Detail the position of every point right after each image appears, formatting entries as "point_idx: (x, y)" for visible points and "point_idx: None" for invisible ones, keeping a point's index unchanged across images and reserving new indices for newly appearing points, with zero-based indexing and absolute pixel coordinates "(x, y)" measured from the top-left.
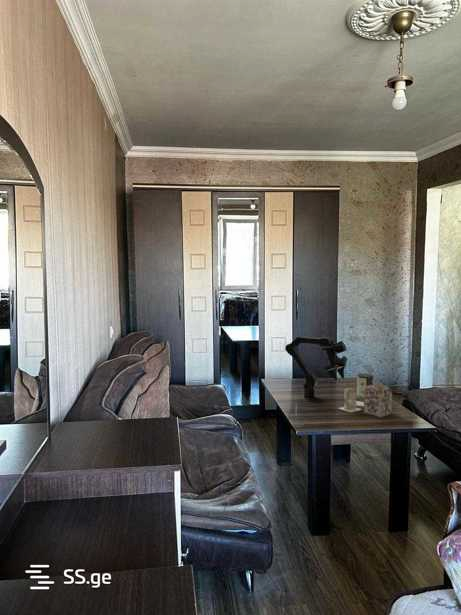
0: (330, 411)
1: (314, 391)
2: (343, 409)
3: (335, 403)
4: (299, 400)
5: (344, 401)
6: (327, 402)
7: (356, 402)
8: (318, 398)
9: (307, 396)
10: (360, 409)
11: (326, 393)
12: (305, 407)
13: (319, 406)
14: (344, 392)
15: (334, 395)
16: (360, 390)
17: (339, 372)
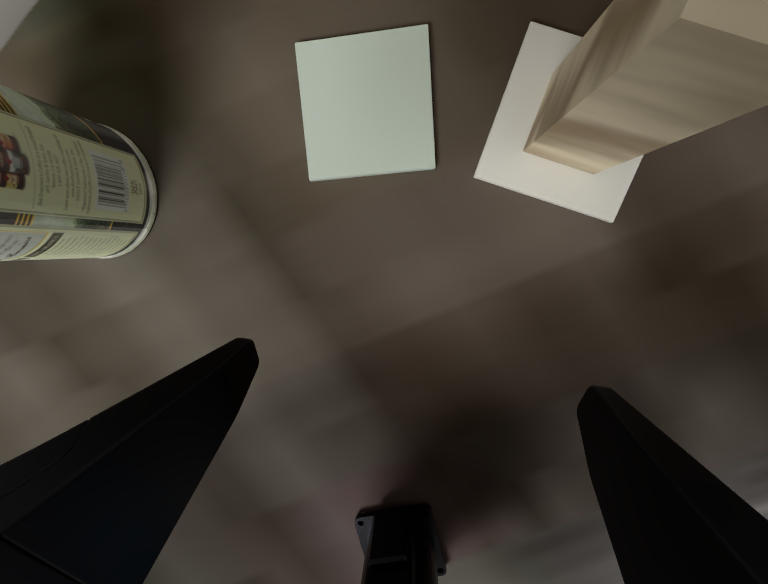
0: (724, 245)
1: (404, 550)
2: (626, 167)
3: (463, 306)
4: (541, 562)
5: (645, 151)
6: (472, 370)
7: (350, 159)
8: (404, 469)
9: (435, 552)
10: (541, 35)
11: (235, 471)
12: (711, 457)
13: (623, 378)
14: (765, 104)
15: (248, 401)
16: (99, 201)
17: (136, 554)
